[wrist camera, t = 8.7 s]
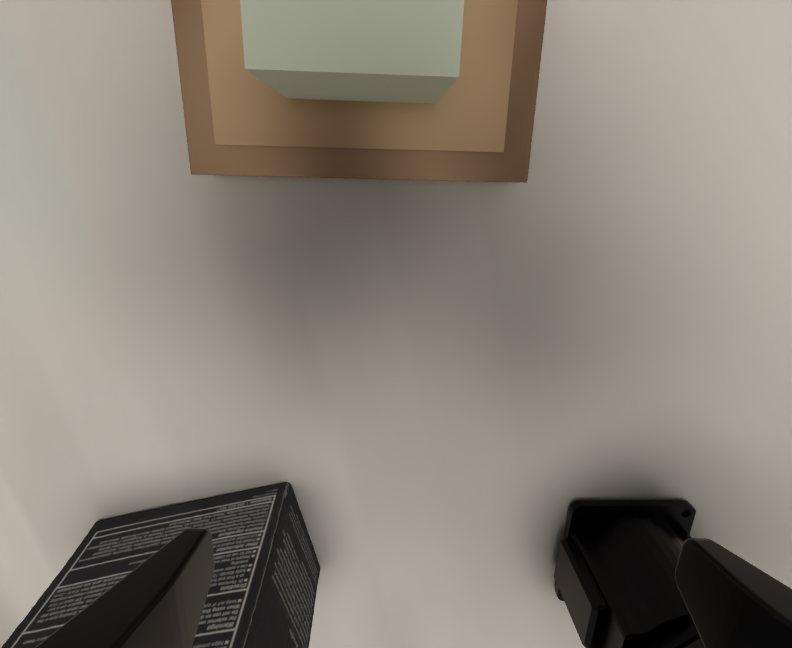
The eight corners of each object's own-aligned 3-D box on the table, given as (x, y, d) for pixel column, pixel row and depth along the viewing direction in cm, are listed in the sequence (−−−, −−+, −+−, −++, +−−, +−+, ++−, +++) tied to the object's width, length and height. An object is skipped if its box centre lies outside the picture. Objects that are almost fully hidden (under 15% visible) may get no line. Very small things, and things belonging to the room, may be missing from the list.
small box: (142, 609, 26) (-7, 886, 16) (92, 518, 24) (-115, 772, 14) (325, 573, 25) (289, 835, 15) (290, 477, 23) (223, 710, 13)
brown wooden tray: (541, -130, 16) (569, -181, 13) (510, 180, 19) (528, 182, 17) (180, -148, 15) (145, -203, 13) (212, 173, 18) (189, 174, 16)
